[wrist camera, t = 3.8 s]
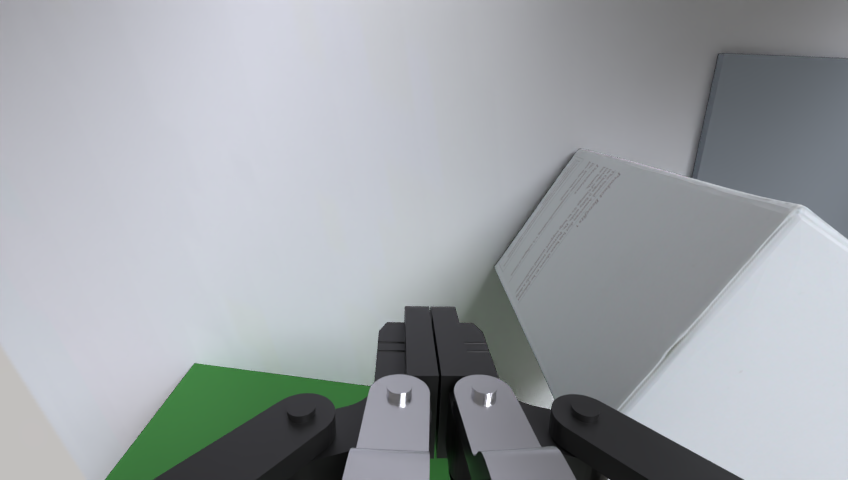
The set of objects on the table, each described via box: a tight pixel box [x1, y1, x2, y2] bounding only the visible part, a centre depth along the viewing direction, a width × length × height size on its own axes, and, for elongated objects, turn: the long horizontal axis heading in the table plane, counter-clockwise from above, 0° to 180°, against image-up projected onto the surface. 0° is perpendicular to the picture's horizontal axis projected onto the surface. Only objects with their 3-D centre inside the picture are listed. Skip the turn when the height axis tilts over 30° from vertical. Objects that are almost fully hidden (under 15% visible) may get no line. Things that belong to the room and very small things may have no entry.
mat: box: [692, 53, 848, 239], centre depth 22 cm, size 15×14×1 cm
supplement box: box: [494, 149, 848, 480], centre depth 16 cm, size 7×7×13 cm
